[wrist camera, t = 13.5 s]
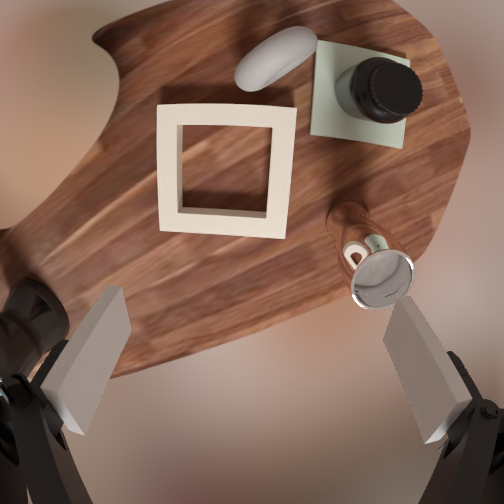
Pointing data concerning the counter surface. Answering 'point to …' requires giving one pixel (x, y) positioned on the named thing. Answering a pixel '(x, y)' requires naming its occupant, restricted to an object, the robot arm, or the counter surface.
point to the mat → (327, 108)
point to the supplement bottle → (378, 91)
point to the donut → (275, 57)
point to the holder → (224, 219)
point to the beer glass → (369, 257)
